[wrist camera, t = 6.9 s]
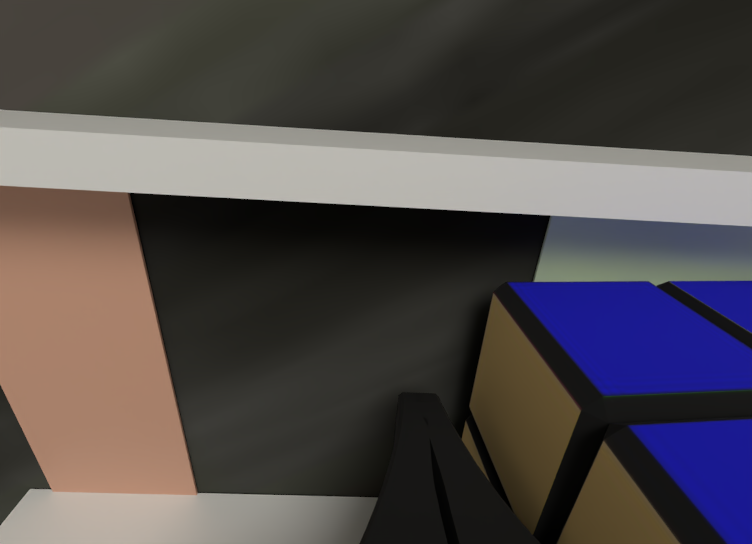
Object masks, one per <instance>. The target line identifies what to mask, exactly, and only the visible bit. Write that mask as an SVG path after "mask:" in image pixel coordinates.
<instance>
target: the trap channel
mask: <svg viewBox="0 0 752 544" xmlns="http://www.w3.org/2000/svg"><path fill="white" fill-rule="evenodd" d="M130 193H146V194H165V195H183V196H201V197H220V198H238V199H257V200H275V201H293V202H312V203H330V204H349V205H367V206H386V207H404V208H422V209H441V210H459V211H478V212H496V213H514V214H533V215H551V216H550V219H549V223H548V227H547V230H546V234H545V238H544V241H543V245H542V249H541V252H540V256H539V260H538V263H537V267H536V270H535V274H534V278H533V281H532V282H595V281H649V282H651V283H652V284H654V285H655V286H657V285H659V284H662V283H665V282H668V281H752V156H741V155H725V154H708V153H692V152H676V151H660V150H644V149H627V148H611V147H595V146H579V145H563V144H547V143H530V142H514V141H498V140H482V139H466V138H449V137H433V136H417V135H401V134H385V133H368V132H352V131H336V130H320V129H304V128H287V127H271V126H255V125H239V124H223V123H206V122H190V121H174V120H158V119H142V118H125V117H109V116H93V115H77V114H61V113H45V112H28V111H12V110H0V385H1V387H2V389H3V391H4V393H5V395H6V397H7V399H8V401H9V403H10V405H11V407H12V409H13V411H14V413H15V415H16V417H17V419H18V422H19V424H20V426H21V428H22V430H23V432H24V434H25V436H26V438H27V440H28V442H29V444H30V446H31V448H32V450H33V452H34V454H35V456H36V458H37V460H38V462H39V464H40V467H41V469H42V471H43V473H44V475H45V477H46V479H47V481H48V483H49V485H50V487H51V489H30V490H29V491H28V492H27V493H26V495H25V496H24V497H23V498H22V500H21V501H20V502H19V503H18V504H17V506H16V507H15V508H14V509H13V511H12V512H11V513H10V514H9V516H8V517H7V518H6V519H5V520H4V522H3V523H2V524H1V525H0V544H359V543H360V541H361V539H362V537H363V534H364V532H365V530H366V527H367V525H368V522H369V520H370V517H371V515H372V512H373V510H374V507H375V505H376V502H377V499H378V497H339V496H298V495H258V494H218V493H198V492H197V487H196V483H195V478H194V474H193V470H192V465H191V461H190V456H189V452H188V448H187V443H186V439H185V434H184V430H183V426H182V421H181V417H180V412H179V408H178V404H177V399H176V395H175V390H174V386H173V382H172V377H171V373H170V368H169V364H168V360H167V355H166V351H165V346H164V342H163V338H162V333H161V329H160V324H159V320H158V316H157V311H156V307H155V302H154V298H153V294H152V289H151V285H150V280H149V276H148V272H147V267H146V263H145V258H144V254H143V250H142V245H141V241H140V236H139V232H138V228H137V223H136V219H135V214H134V210H133V206H132V201H131V197H130Z"/></svg>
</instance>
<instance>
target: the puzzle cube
mask: <svg viewBox="0 0 752 544" xmlns="http://www.w3.org/2000/svg"><path fill="white" fill-rule="evenodd" d="M469 408H470V410H471V414H470V415H469V417H468V418H467V419H466V421H465V426H464V430H463V435H462V441H463V443H464V444H465V446H466V447H467V449H468V451H469V452H470V454H471V455H472V457H473V459H474V460H475V462H476V463H477V465H478V466H479V468H480V469H481V470H482V472H483V473H484V475H485V476H486V477H487V479H488V480H489V482H490V483H491V484H492V486H493V487H494V489H495V490H496V491H497V493H498V494H499V495H500V496H501V498H502V499H503V500H504V501H505V503H506V504H507V505H508V506H509V508H510V509H511V510H512V511H513V513H514V514H515V515H516V516H517V517H518V519H519V520H520V521H521V522H522V523H523V524H524V526H525V527H526V528H527V529H528V530H529V531H530V533H531V534H532V535H533V536H534V537H535V538H536V539H537V540H538V541H539V542H540V543H541V544H752V281H668V282H665V283H662V284H659V285H657V286H655V285H654V284H652V283H651V282H649V281H595V282H506V283H504V284H503V285H501V286H500V287H498V288H497V289H496V290H495V291H494V292H493V295H492V300H491V305H490V309H489V314H488V319H487V323H486V328H485V333H484V338H483V342H482V347H481V352H480V356H479V361H478V366H477V371H476V375H475V380H474V385H473V389H472V394H471V399H470V404H469Z"/></svg>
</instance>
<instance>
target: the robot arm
mask: <svg viewBox="0 0 752 544" xmlns="http://www.w3.org/2000/svg"><path fill="white" fill-rule="evenodd" d="M359 544H541V543H540V542H539V541H538V540H537V539H536V538H535V537H534V536H533V535H532V534H531V533H530V531H529V530H528V529H527V528H526V527H525V526H524V524H523V523H522V522H521V521H520V520H519V519H518V517H517V516H516V515H515V514H514V513H513V511H512V510H511V509H510V508H509V506H508V505H507V504H506V503H505V501H504V500H503V499H502V498H501V496H500V495H499V494H498V493H497V491H496V490H495V489H494V487H493V486H492V484H491V483H490V482H489V480H488V479H487V477H486V476H485V475H484V473H483V472H482V470H481V469H480V468H479V466H478V465H477V463H476V462H475V460H474V459H473V457H472V455H471V454H470V452H469V451H468V449H467V447H466V446H465V444H464V443H463V441H462V439H461V438H460V436H459V434H458V433H457V431H456V429H455V428H454V426H453V424H452V422H451V420H450V419H449V417H448V415H447V413H446V411H445V409H444V407H443V405H442V403H441V401H440V399H439V397H438V396H437V395H436V394H433V393H401V394H400V395H399V396H398V405H397V414H396V423H395V432H394V447H393V451H392V455H391V458H390V462H389V465H388V469H387V472H386V476H385V479H384V482H383V485H382V488H381V491H380V494H379V496H378V499H377V502H376V505H375V507H374V510H373V512H372V515H371V517H370V520H369V522H368V525H367V527H366V530H365V532H364V534H363V537H362V539H361V541H360V543H359Z"/></svg>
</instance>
